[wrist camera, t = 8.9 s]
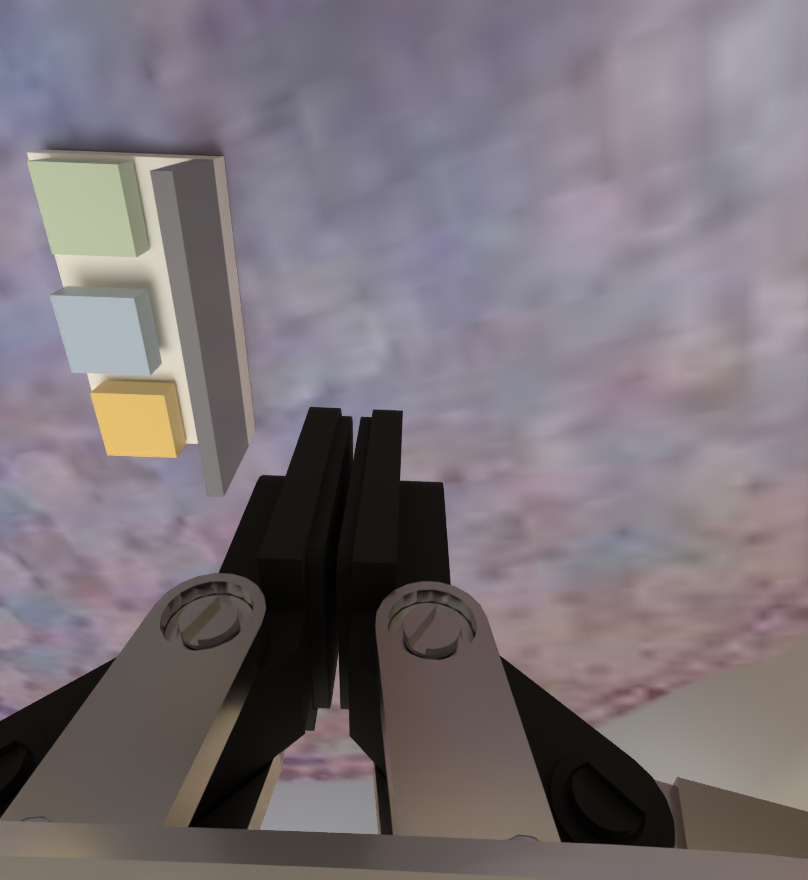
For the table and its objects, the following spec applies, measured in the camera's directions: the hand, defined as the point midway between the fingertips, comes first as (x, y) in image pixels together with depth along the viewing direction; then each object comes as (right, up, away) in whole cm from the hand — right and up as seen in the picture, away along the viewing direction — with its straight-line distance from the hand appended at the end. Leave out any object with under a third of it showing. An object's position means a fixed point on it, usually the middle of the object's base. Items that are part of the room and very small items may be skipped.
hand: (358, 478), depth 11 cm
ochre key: (-16, +2, +28) cm, 32 cm away
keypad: (-15, +9, +26) cm, 32 cm away
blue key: (-16, +7, +23) cm, 29 cm away
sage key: (-16, +14, +21) cm, 30 cm away
